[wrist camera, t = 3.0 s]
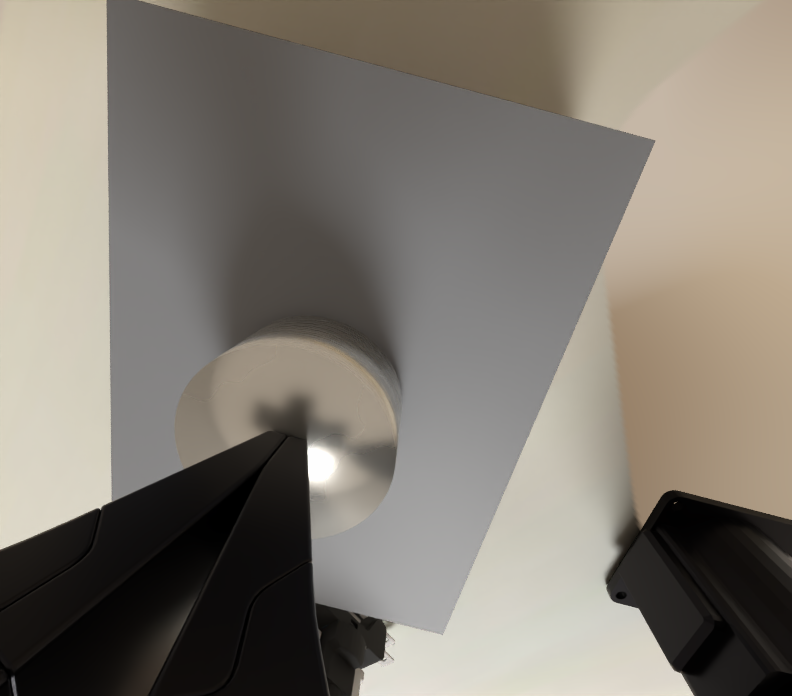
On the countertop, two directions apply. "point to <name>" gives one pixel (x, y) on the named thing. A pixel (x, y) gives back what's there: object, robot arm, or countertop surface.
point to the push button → (350, 647)
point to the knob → (303, 411)
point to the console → (350, 265)
